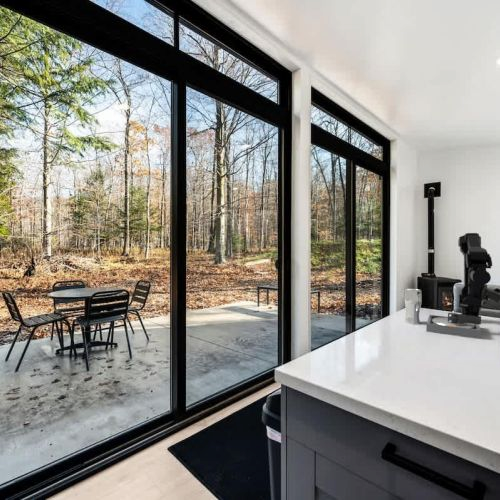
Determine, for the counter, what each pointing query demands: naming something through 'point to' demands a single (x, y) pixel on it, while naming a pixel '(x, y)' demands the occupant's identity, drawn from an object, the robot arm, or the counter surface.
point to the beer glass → (412, 305)
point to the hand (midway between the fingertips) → (476, 319)
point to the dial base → (452, 329)
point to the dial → (458, 320)
